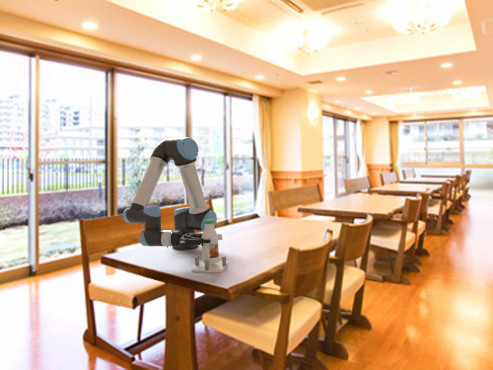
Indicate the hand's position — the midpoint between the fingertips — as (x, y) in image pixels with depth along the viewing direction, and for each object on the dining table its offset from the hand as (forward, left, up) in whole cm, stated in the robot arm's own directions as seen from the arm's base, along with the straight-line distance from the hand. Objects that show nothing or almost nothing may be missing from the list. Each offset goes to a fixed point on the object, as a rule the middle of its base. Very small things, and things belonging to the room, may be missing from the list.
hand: (219, 238), depth 162 cm
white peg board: (0, -5, -13) cm, 14 cm away
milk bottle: (0, -5, -11) cm, 12 cm away
